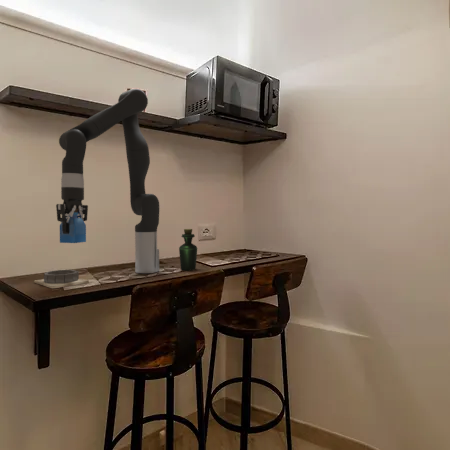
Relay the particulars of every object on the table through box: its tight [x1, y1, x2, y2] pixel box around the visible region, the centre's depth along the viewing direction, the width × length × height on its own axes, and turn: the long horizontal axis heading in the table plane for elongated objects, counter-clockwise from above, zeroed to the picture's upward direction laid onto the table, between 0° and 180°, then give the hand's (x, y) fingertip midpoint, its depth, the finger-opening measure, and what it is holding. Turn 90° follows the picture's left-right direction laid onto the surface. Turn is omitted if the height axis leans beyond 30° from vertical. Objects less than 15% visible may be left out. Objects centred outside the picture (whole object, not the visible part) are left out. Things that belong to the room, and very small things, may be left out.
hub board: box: [33, 269, 90, 289], centre depth 130 cm, size 13×15×4 cm
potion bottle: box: [178, 228, 198, 272], centre depth 158 cm, size 8×8×18 cm
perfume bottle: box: [59, 209, 87, 244], centre depth 128 cm, size 6×6×12 cm
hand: (72, 233), depth 128 cm, fingers closed on perfume bottle, 6 cm apart
